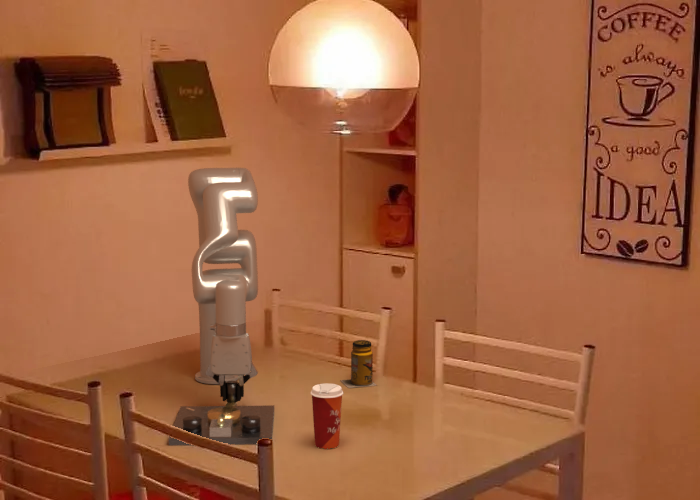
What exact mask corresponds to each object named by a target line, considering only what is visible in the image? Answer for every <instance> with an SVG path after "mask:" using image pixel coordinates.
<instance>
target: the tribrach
mask: <svg viewBox="0 0 700 500" xmlns="http://www.w3.org/2000/svg"><path fill="white" fill-rule="evenodd" d="M220 407H225V405H212V406H211V405H209V406H207V405H202V406H201V405H199V406H198V405H197V406H194V405H191V406H187V405H186V406H183V405H182V406H180V407H179V410H178V413H177V414H176V418H175V421H174V423H173V426H175V427H178V428H181V429H183V430H186V431H188V432H191V433H194V434H197V435H200V436H202V437H206V438H209V439H212V440H216V441H219V442H223V443H228V444H230V445H231V444H235V445H257V444H256V443H257V441H258V440H259V439H262V438H269V439H272V440H273V434H274V433H273V432H274V420H275V419H274V418H275V404H274V405H237V406H236V409H238V410H240V421H239V422H238V423H236V424H233V419H225V415H224V414H220V415H219V417H218V419H212V420H211V424H210V423H209V422H208V415H207V413H208V411H209V410H211V409H214V408H220ZM168 446H190V445H189V444H186V443H184V442H182V441H179V440H177V439H174V438H171V437H170V436H169V437H168Z"/></svg>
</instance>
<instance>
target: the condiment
mask: <svg viewBox="0 0 700 500" xmlns="http://www.w3.org/2000/svg"><path fill="white" fill-rule="evenodd" d="M373 356H374V354H373V350H372V342H371V341H370V340H365V339H361V340H360V339H359V340H354V341H353V342H352V350H351V352H350V379H341V380H340V382H341V383H342V384H343V385H344V386H345V387H346V388H348V389H351V388H353V389H354V388H362V387H363V388H366V387H374V386H377V385H378V384H376V383H375V382H374V381H373V374H374V373H373V360H374V359H373V358H374V357H373Z"/></svg>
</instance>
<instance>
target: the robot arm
mask: <svg viewBox="0 0 700 500" xmlns="http://www.w3.org/2000/svg"><path fill="white" fill-rule="evenodd" d="M187 184H188V185H187V186H188V192H189V195H190V199H191V200H192V203H193V205H194V208H195V210H196V214H197V226H198V248H197V250H196V252H195V254H194V256H193V259H192V262H191V263H192V264H191V282H192V284H191V285H192V294H193V298H194V300H195V302H196V303H197V304H198V319H199V320H198V321H199V355H200V357H199V358H200V361H199V362H200V371H198V372H196V373H195V375H194V379H195V380H196V381H197V382H198V383H202V384H206V385H207V384H208V385H219V389H220V391H219V392H220V395H219V396H220V398H222V401H223V402H225V401H226V382H227V381H237V382H238V386H237V401H238V402H241V400H242V398H244V396H245V395H244V393H245V389H244V388H245V385H244V384H246V383H247V382H248V381H249V380H250V379H253V378H254V377H256V376H257V375H258V373H259V371H258V369H257V368H256V366H255V364H254V362H253V356H252V345H251V340H250V335H249V333H248V332H247V314H246V313H247V311H246V310H247V306H246V304H247V303H246V302H252V301H254V300H255V299H256V298H257V296H258V293H259V277H258V276H259V275H258V273H259V272H258V254H257V253H258V252H257V243H256V238H255V235H254V234H253V232H251V231H250V230H248V229H239V228H238V218H237V214H252V213H254V212H256V210H257V208H258V206H259V205H258V204H259V196H258V190H257V185H256V183H255V181H254V177H253V175H252V173H251V171H250V170H249V169H248V168H246V167H207V168H206V167H205V168H203V167H202V168H198V169H197V168H196V169H194V170H192V171H191V172H190V173H189V175H188V179H187ZM204 263H205V264H211V265H227V264H228V265H230V264H238V265H240V267H238V268H237V267H236V268H235V267H234V268H232V267H231V268H212V269H211V268H210V269H206V270H203V265H204ZM226 402H227V401H226Z"/></svg>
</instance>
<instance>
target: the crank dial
mask: <svg viewBox="0 0 700 500" xmlns="http://www.w3.org/2000/svg"><path fill="white" fill-rule="evenodd" d="M238 382H239V381H238V380H236V381H227V382H226V404H225V405H224V406H225V407H220V408H214V409H211V410H209V411H208V413H207V415H208V422H209V423H210V424H211V420H212V419H218V417H219V415H220V414H224V415H225V419H233V424H236V423H238V422H239V421H240V410H238V409H236V406H238V404H237V403H238V402H239V401H237V386H238Z"/></svg>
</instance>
